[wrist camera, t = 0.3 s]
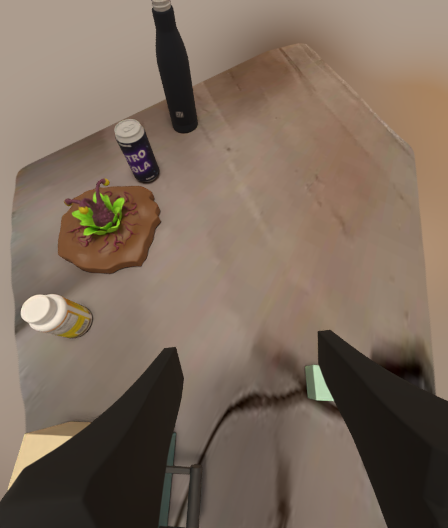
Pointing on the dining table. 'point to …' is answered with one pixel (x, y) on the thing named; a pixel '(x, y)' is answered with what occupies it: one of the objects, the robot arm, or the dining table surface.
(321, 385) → the sage green cube
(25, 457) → the beige box
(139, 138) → the beverage can
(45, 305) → the supplement bottle
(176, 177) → the dining table surface
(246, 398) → the dining table surface
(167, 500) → the drawer
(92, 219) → the plant
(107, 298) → the dining table surface
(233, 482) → the dining table surface
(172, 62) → the black water bottle
